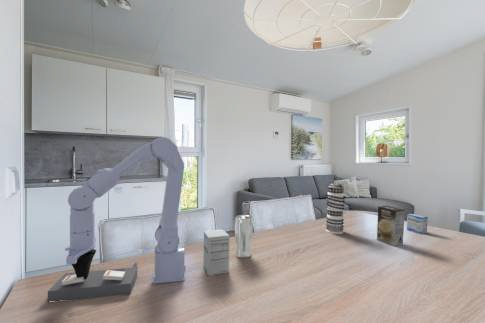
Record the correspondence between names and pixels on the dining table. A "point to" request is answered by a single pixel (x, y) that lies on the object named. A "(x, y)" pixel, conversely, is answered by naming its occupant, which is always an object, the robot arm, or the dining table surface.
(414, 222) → the medicine box
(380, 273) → the dining table surface
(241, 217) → the silver metal canister
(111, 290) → the switch panel
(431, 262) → the dining table surface
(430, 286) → the dining table surface
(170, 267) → the robot arm
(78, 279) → the rocker
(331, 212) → the striped tower model
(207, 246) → the supplement box
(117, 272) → the rocker
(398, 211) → the coffee box
